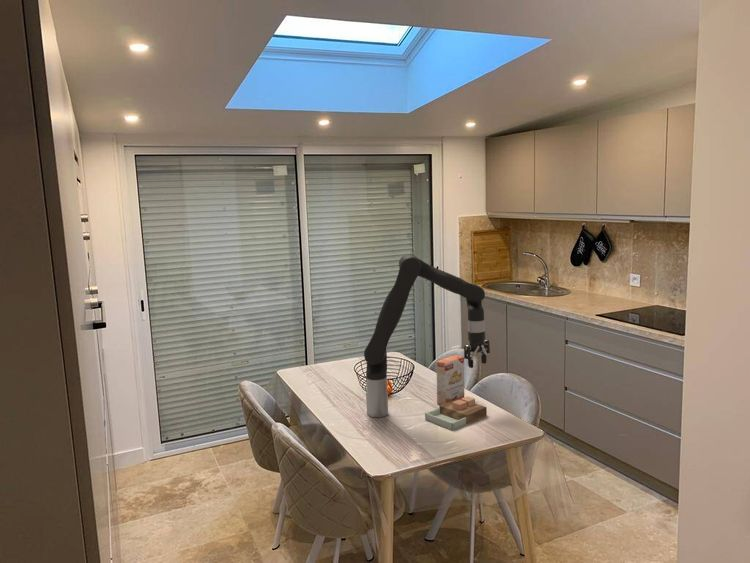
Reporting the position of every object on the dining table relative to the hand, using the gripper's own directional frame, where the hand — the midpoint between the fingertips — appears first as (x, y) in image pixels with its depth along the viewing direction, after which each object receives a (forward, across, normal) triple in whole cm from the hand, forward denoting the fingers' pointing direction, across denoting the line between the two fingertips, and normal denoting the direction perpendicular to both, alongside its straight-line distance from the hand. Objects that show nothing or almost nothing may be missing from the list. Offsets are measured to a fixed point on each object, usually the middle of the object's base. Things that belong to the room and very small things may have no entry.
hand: (477, 365), depth 242 cm
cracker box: (+21, +1, -16) cm, 26 cm away
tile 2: (+17, +6, -1) cm, 18 cm away
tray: (+21, +20, -1) cm, 29 cm away
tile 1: (+17, +11, -1) cm, 20 cm away
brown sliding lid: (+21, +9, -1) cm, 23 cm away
